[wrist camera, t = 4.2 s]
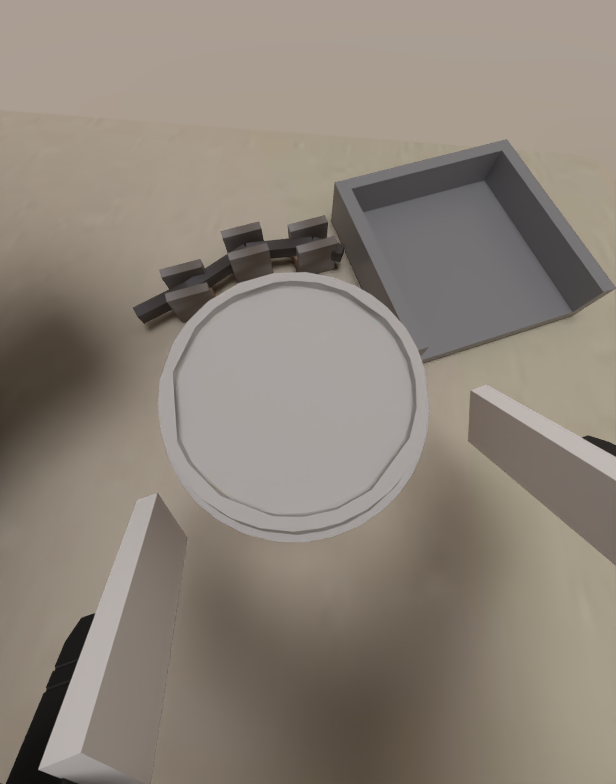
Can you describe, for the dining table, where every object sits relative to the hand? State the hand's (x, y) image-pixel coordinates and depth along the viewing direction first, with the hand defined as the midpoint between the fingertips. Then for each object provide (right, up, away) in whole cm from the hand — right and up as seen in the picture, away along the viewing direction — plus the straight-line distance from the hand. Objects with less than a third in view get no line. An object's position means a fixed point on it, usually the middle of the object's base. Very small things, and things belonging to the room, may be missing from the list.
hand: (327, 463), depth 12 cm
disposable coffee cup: (-1, 0, +9) cm, 9 cm away
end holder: (+11, +14, +13) cm, 22 cm away
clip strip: (-5, +13, +13) cm, 18 cm away
